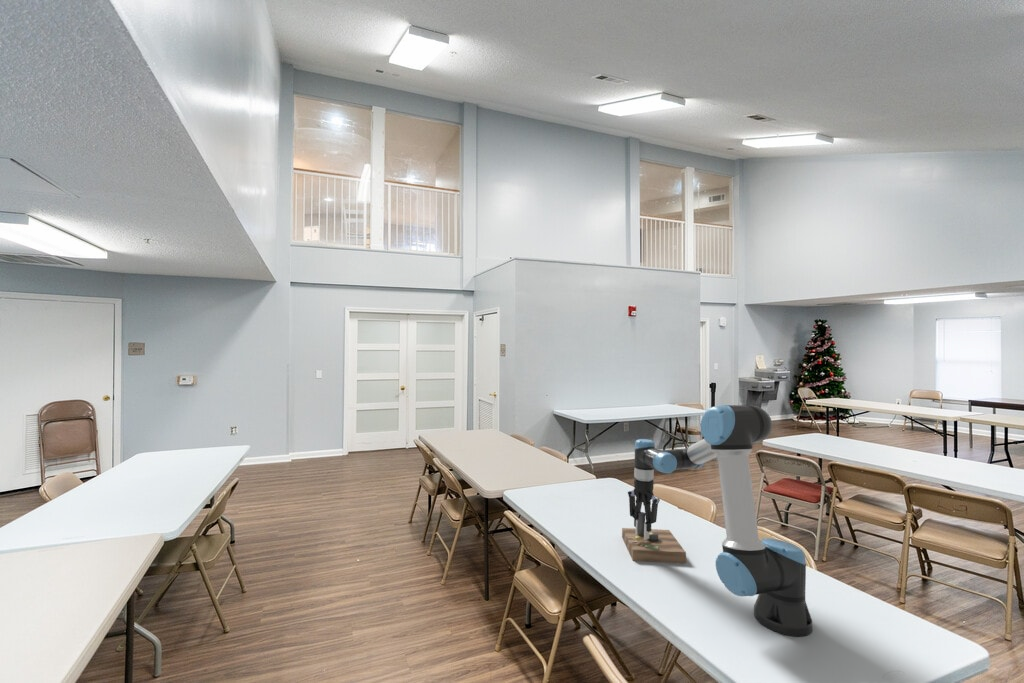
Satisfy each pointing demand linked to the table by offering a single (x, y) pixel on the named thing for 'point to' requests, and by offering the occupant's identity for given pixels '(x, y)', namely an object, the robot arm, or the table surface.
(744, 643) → the table surface
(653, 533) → the dark grey lever
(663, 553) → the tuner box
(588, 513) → the table surface
